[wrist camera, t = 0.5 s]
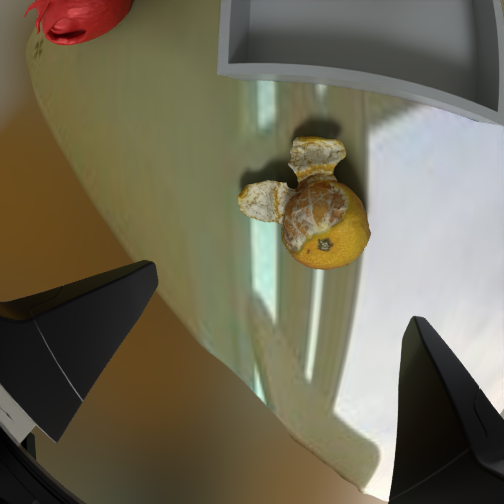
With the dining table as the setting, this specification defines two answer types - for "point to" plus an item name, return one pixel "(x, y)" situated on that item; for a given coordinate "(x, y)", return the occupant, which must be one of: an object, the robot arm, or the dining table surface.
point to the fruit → (312, 207)
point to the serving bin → (373, 48)
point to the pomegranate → (78, 18)
